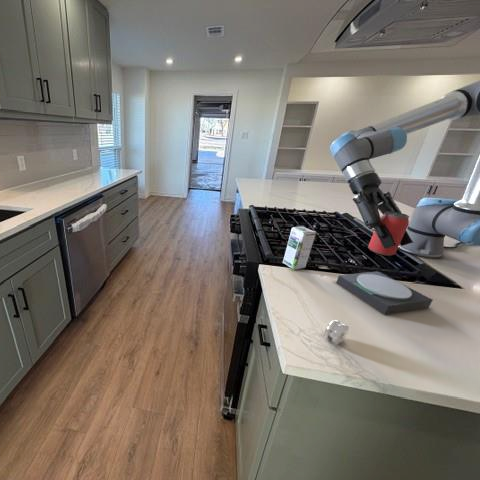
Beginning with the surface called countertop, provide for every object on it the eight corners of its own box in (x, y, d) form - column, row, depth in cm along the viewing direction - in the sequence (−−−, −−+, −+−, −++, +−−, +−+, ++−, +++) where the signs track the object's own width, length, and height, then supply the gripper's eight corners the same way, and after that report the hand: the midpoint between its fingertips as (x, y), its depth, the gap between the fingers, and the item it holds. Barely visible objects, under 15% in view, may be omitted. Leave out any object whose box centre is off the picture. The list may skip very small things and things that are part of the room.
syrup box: (281, 262, 96) (290, 227, 90) (294, 260, 98) (303, 225, 92) (293, 270, 91) (303, 233, 85) (306, 268, 93) (317, 231, 87)
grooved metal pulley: (333, 347, 58) (340, 331, 56) (320, 339, 61) (326, 323, 59) (344, 339, 61) (351, 323, 59) (331, 331, 63) (337, 315, 61)
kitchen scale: (374, 278, 87) (378, 269, 86) (428, 308, 73) (434, 298, 72) (336, 283, 84) (339, 273, 83) (384, 314, 70) (389, 304, 68)
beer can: (399, 257, 74) (418, 218, 69) (374, 254, 75) (390, 216, 70) (386, 248, 80) (402, 211, 75) (363, 245, 81) (377, 209, 76)
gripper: (371, 184, 87) (406, 246, 79) (329, 186, 81) (362, 253, 73) (394, 170, 80) (435, 237, 73) (350, 172, 74) (390, 244, 67)
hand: (398, 245), depth 73 cm, fingers closed on beer can, 6 cm apart
